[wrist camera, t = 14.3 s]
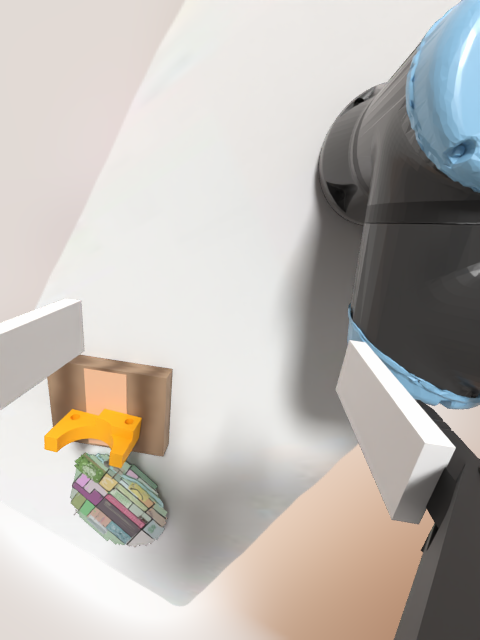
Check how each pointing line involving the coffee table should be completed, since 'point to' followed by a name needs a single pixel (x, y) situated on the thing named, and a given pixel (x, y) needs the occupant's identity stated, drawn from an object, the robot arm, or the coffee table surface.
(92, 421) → the pipe clamp
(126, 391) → the board
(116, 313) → the coffee table surface
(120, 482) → the city model
